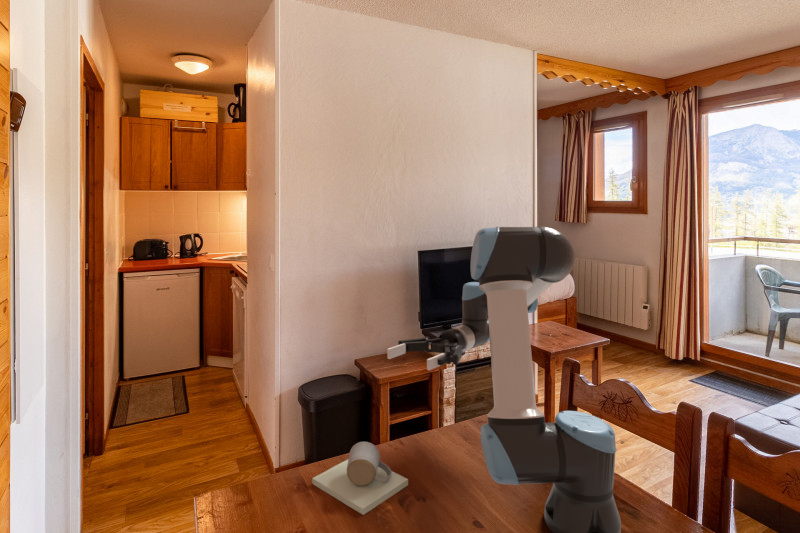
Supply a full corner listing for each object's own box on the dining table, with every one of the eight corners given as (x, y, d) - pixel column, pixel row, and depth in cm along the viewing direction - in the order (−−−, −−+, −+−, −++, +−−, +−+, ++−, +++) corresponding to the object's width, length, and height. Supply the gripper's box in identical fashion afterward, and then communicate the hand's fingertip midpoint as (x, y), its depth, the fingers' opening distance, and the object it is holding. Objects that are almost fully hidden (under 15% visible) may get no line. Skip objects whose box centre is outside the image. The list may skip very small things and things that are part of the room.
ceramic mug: (345, 488, 113) (345, 457, 112) (349, 469, 121) (349, 440, 120) (390, 489, 113) (391, 458, 112) (391, 469, 121) (392, 440, 120)
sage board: (408, 485, 117) (408, 479, 116) (363, 515, 106) (362, 508, 105) (357, 459, 129) (357, 454, 128) (312, 483, 118) (312, 478, 117)
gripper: (493, 362, 131) (446, 385, 116) (422, 345, 148) (373, 363, 132) (493, 335, 130) (446, 354, 115) (422, 321, 147) (373, 336, 131)
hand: (407, 359), depth 124 cm, fingers open, 13 cm apart
